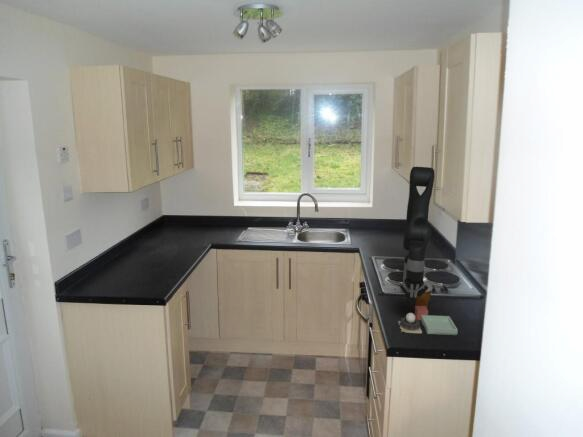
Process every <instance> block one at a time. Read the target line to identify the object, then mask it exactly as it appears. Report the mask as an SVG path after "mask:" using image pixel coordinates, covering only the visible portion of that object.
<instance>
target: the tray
mask: <svg viewBox="0 0 583 437" xmlns="http://www.w3.org/2000/svg"><path fill="white" fill-rule="evenodd" d="M420 323H421V324H422V326H423V328H424V330H425V332H426V333H427V335H443V336H444V335H448V336H450V335H451V336H457V335H458V328H457V326H456V324H455V323H454V321H453V320H452V318H451V316H450V315H429V314H428V315H421V320H420Z"/></svg>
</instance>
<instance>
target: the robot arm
mask: <svg viewBox="0 0 583 437" xmlns="http://www.w3.org/2000/svg"><path fill="white" fill-rule="evenodd" d="M410 169H411V170H410V173H409V185H408V186H409V191H408V200H407V207H406V219H405V230H404V234H403V242H402V245H403V249H404V250H405V251H408V255H406V256H405V257H404V261H403V262H404V263H403V274H402V282H401V283H399V287H400V290H401V292H402V293H403V294H404V293H405V294H404V295H406V297H408V303H409V304H410V305H411V306H415V303H416V297H418V296H419V297H420V296H421V295H422V294H423V293H424V292H425V291H426V290H427V289H428V286H427V285H425V284H424V281H425V280H424V277H425V276H424V275H425V274H424V273H425V269H426V268H425V263H426V262H425V259H426V258H425V257H426V250H427V246H428V244H429V241H430V239H431V237H432V234H433V232H432V228H431V227H430V226H429V225H425V224H426V223H427V222H428V220H429V213H430V212H429V210H430V209H429V208H430V202H431V198H432V193H433V188H434V182H435V176H436V175H435V174H436V172H435V169H434V168H433V167H428V166H413V167H411V168H410ZM417 187H421V188H422V187H424V190H423V191H422V193H421V194H420V192H419V190H418V188H417ZM421 287H422V288H421ZM420 288H421V289H420ZM419 289H420V290H419ZM418 290H419V291H418Z"/></svg>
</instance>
